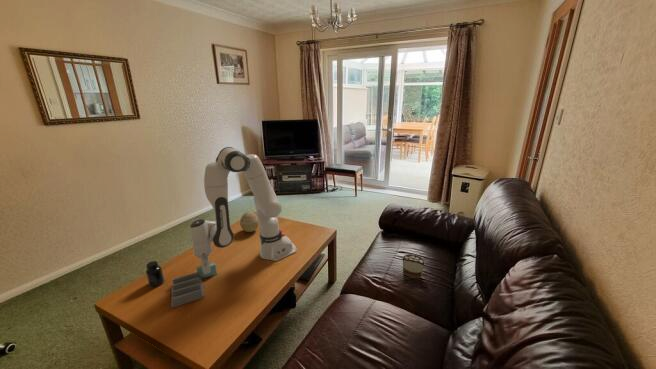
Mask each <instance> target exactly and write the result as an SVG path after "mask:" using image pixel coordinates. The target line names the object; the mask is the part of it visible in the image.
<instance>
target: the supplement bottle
mask: <svg viewBox="0 0 656 369" xmlns="http://www.w3.org/2000/svg"><path fill="white" fill-rule="evenodd" d="M145 275H146V278H147V281H148V285H149V287H152V288H156V287H159V286H161V285H163V283H164V282H165V277H164V273H163V270H162V266H161V265H159V263H158V261H156V260H153V261H149V262H148V263H147V264H146V270H145Z"/></svg>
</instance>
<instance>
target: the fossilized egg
mask: <svg viewBox="0 0 656 369" xmlns="http://www.w3.org/2000/svg"><path fill="white" fill-rule="evenodd" d="M239 221H240V222H239V224H240V227H241V229H242V230H243V231H244V232H247V233H253V232H254V231H256V230H257V229H258V227H259V220H258V216H257V213H254V212H253V211H246V212H244V213H243V214H242V215H241V217H240V220H239Z"/></svg>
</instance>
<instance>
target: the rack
mask: <svg viewBox="0 0 656 369" xmlns="http://www.w3.org/2000/svg"><path fill="white" fill-rule="evenodd" d="M172 283H173V284H172V285H171V300H170V304H171V305H170V307H171V308H176V307H178V306H182V305H184V304H189V303H190V302H194V301H199V300H200V299H204V298H205V294H204V293H205V292H204V286H203V278H202V277H199V273H198V272H193V273H189V274H186V275H181V276H178V277H175V278H172Z"/></svg>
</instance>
